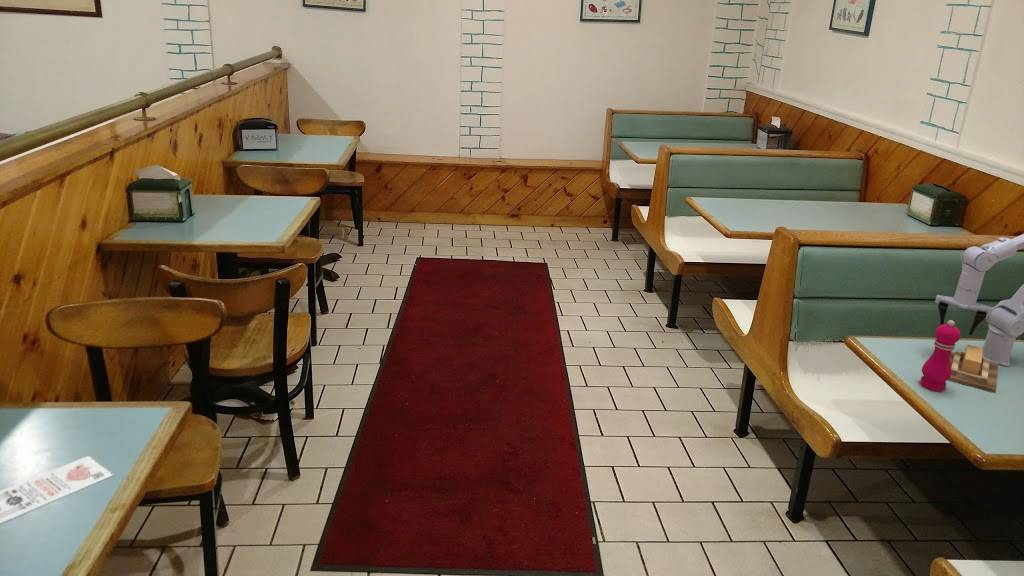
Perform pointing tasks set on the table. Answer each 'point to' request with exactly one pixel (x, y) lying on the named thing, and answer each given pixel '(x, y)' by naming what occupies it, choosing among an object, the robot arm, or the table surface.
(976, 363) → the tan block
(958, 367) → the jig
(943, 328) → the pepper mill
